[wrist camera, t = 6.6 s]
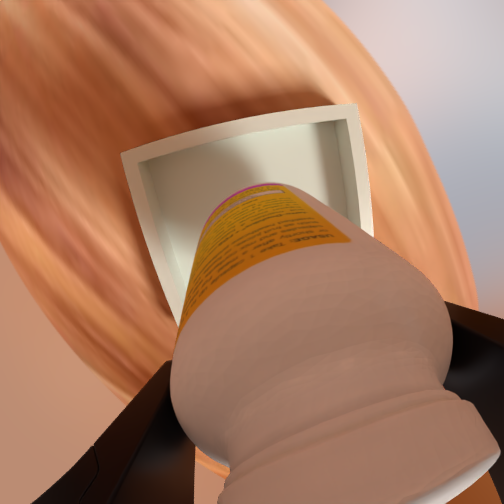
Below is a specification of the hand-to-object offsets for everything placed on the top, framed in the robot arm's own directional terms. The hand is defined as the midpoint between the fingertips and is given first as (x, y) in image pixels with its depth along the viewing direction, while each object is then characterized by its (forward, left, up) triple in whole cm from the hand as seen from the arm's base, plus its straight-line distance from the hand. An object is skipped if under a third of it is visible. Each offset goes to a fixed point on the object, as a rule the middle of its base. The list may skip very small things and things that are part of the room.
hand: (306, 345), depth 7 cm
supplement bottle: (0, 0, -8) cm, 8 cm away
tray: (0, 0, -11) cm, 11 cm away
